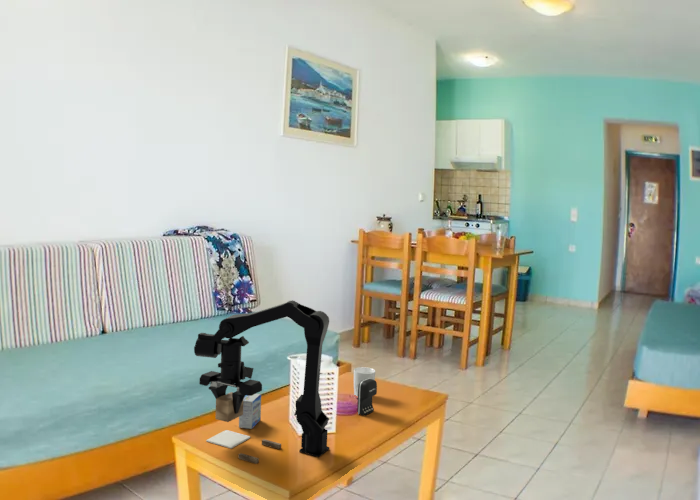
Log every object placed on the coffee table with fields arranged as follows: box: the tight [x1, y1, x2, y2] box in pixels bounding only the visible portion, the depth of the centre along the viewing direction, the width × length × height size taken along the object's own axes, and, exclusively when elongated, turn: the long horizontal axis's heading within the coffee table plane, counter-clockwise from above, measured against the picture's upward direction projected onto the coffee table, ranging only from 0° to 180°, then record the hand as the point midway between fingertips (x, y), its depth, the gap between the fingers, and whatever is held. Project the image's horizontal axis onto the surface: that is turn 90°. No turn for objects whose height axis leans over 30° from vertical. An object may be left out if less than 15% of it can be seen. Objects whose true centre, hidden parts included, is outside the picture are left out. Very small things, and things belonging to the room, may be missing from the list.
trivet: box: [205, 429, 251, 449], centre depth 174 cm, size 9×9×1 cm
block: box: [215, 391, 243, 423], centre depth 173 cm, size 4×7×6 cm, turn 153°
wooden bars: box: [238, 438, 282, 465], centre depth 166 cm, size 6×12×1 cm, turn 153°
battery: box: [356, 378, 378, 416], centre depth 200 cm, size 7×4×11 cm, turn 144°
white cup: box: [353, 366, 376, 396], centre depth 216 cm, size 8×8×10 cm
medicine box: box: [238, 393, 262, 430], centre depth 186 cm, size 8×4×9 cm, turn 168°
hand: (229, 411), depth 173 cm, fingers closed on block, 4 cm apart
